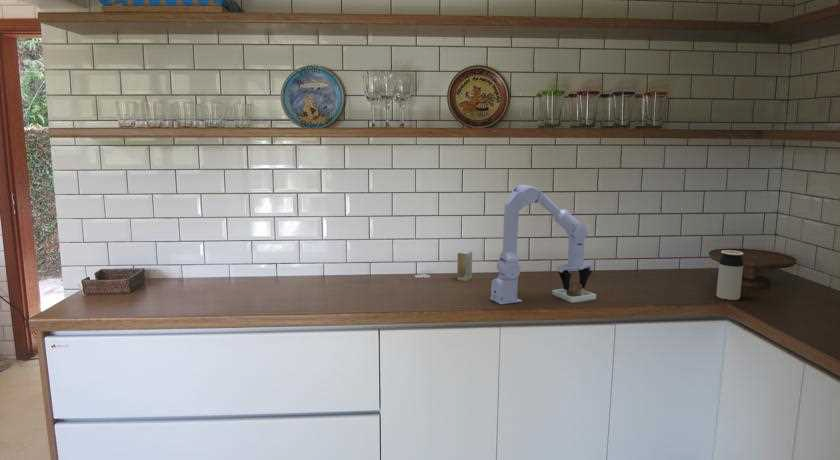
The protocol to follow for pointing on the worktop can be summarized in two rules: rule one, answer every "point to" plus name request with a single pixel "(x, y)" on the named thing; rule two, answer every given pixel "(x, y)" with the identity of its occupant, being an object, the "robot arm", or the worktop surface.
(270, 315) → the worktop surface
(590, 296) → the tray
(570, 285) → the walnut block
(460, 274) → the skincare box
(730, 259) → the travel mug
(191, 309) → the worktop surface
